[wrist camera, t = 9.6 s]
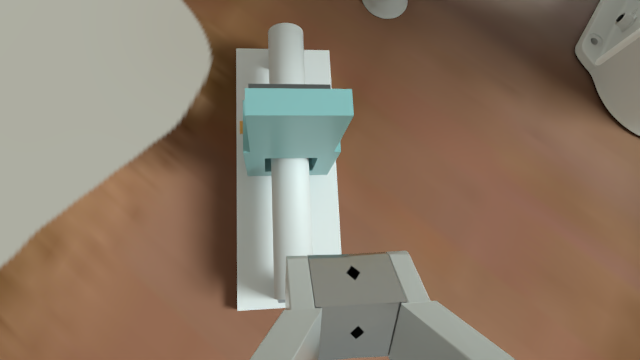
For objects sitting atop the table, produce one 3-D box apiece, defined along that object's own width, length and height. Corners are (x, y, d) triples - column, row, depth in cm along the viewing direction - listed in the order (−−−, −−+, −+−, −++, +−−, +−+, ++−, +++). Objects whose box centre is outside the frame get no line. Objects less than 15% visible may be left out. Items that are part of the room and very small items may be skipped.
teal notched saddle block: (247, 132, 36) (235, 48, 23) (324, 132, 37) (357, 51, 24) (247, 176, 36) (235, 115, 22) (327, 174, 36) (362, 115, 23)
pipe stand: (237, 54, 40) (230, 9, 33) (327, 56, 41) (339, 13, 34) (238, 309, 35) (231, 318, 28) (341, 303, 36) (359, 310, 29)
